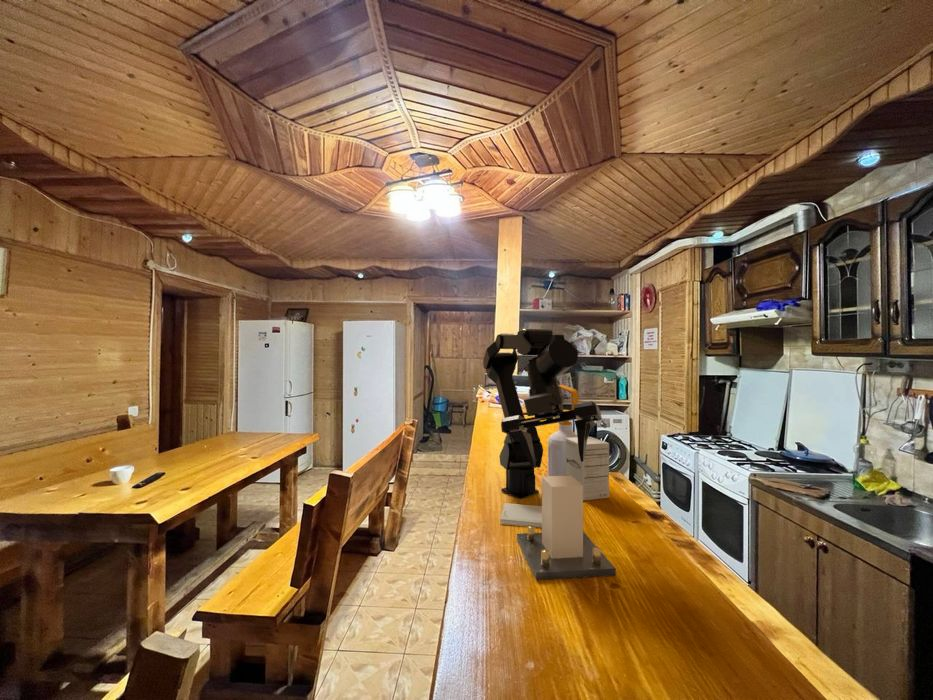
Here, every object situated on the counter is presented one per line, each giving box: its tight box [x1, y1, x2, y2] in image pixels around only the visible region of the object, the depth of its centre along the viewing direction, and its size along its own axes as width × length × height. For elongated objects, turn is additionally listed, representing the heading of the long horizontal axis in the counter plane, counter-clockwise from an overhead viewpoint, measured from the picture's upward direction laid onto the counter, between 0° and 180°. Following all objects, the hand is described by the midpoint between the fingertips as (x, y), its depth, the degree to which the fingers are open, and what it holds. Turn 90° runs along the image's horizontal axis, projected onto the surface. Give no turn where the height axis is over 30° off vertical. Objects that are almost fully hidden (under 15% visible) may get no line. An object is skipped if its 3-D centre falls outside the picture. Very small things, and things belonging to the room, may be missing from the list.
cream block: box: [541, 475, 584, 559], centre depth 61 cm, size 5×5×11 cm
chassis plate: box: [516, 525, 617, 581], centre depth 61 cm, size 12×12×3 cm
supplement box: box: [566, 436, 610, 501], centre depth 88 cm, size 7×7×13 cm
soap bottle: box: [547, 384, 579, 476], centre depth 99 cm, size 9×9×25 cm
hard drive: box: [499, 502, 542, 529], centre depth 75 cm, size 2×8×12 cm
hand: (557, 464), depth 70 cm, fingers open, 9 cm apart
